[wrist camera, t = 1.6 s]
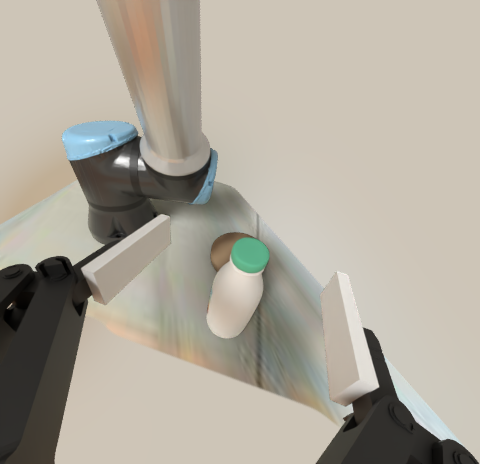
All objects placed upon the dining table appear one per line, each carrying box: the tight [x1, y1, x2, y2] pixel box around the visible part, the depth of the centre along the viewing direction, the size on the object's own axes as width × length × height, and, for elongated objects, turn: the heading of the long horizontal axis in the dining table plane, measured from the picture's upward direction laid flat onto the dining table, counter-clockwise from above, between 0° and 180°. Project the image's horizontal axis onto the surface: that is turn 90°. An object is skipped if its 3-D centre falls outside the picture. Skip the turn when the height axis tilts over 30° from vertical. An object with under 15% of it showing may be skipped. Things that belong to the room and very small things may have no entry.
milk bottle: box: [207, 237, 269, 338], centre depth 29 cm, size 8×8×20 cm
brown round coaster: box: [211, 232, 263, 274], centre depth 46 cm, size 14×14×2 cm
